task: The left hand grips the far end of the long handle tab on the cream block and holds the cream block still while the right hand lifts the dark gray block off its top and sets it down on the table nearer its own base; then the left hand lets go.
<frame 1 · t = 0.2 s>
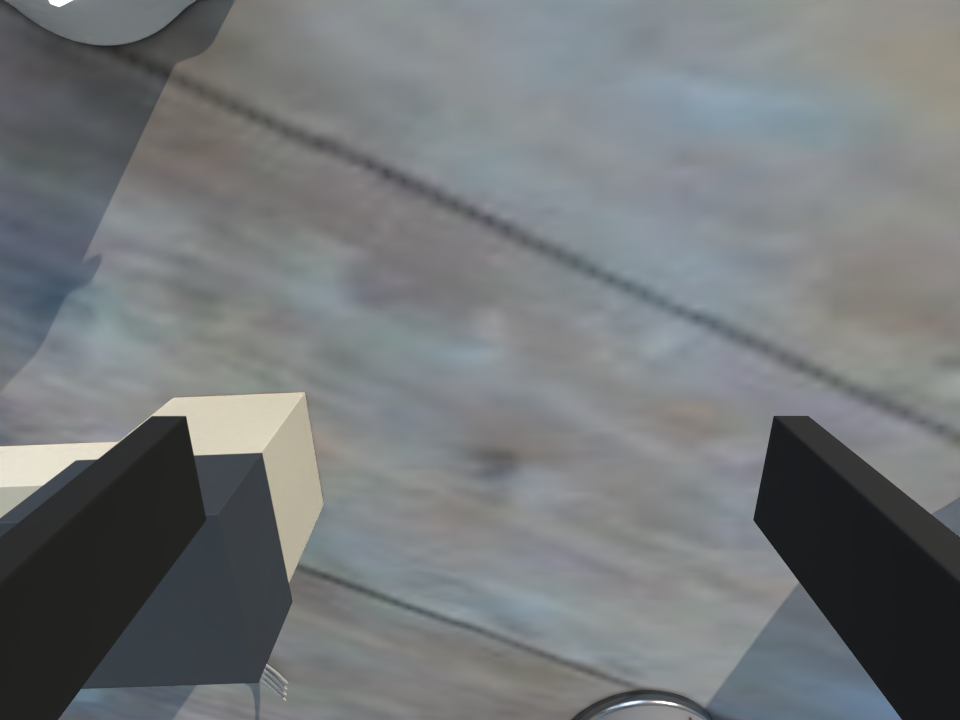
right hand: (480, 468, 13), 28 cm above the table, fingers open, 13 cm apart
dark gray block: (189, 534, 35), point 10 cm above the table, touching cream block
cream block: (251, 453, 44), on the table, touching dark gray block
fork: (206, 659, 52), on the table
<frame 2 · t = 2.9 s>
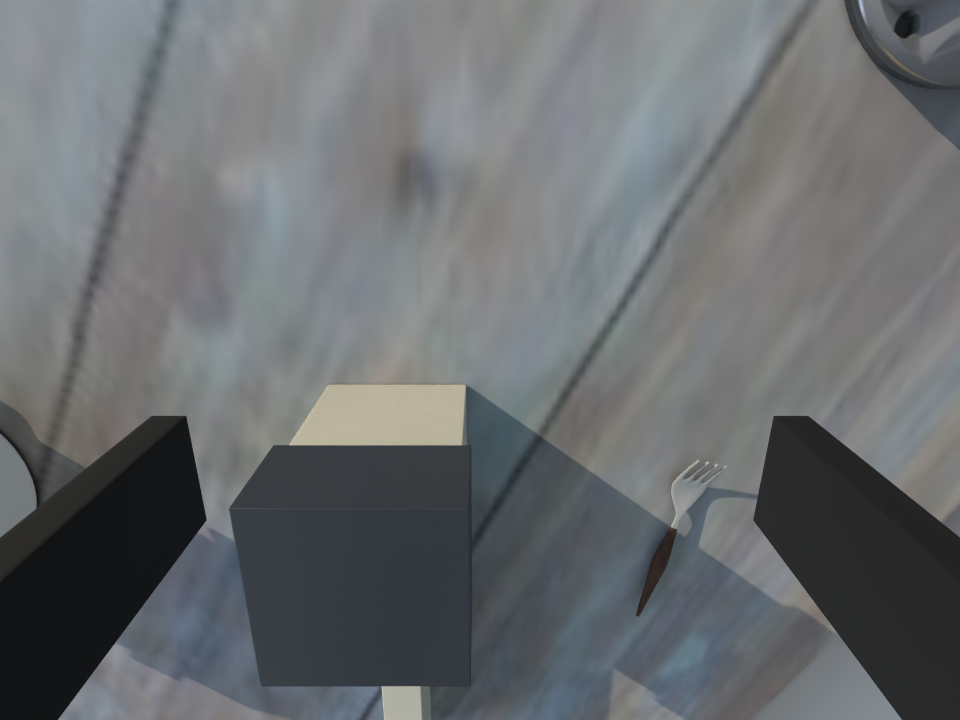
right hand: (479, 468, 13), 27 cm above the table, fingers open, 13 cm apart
dark gray block: (378, 527, 33), point 10 cm above the table, touching cream block
cream block: (400, 445, 43), on the table, touching dark gray block
fork: (666, 533, 46), on the table
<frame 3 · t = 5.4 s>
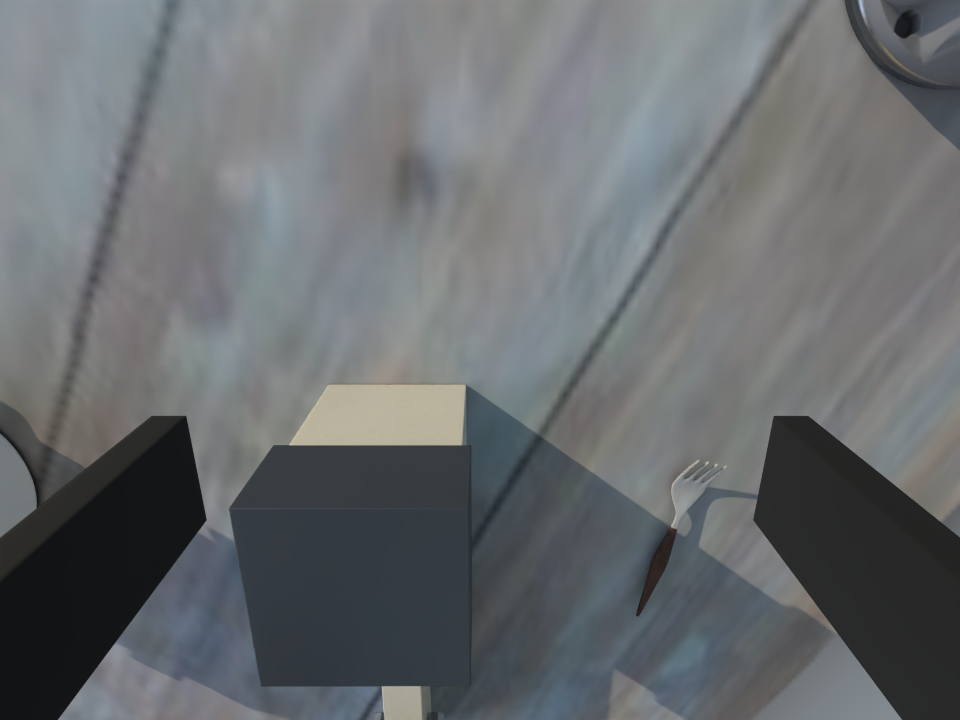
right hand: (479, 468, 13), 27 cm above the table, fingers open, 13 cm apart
dark gray block: (378, 527, 33), point 10 cm above the table, touching cream block
cream block: (400, 445, 43), on the table, touching left hand, dark gray block
fork: (666, 533, 46), on the table
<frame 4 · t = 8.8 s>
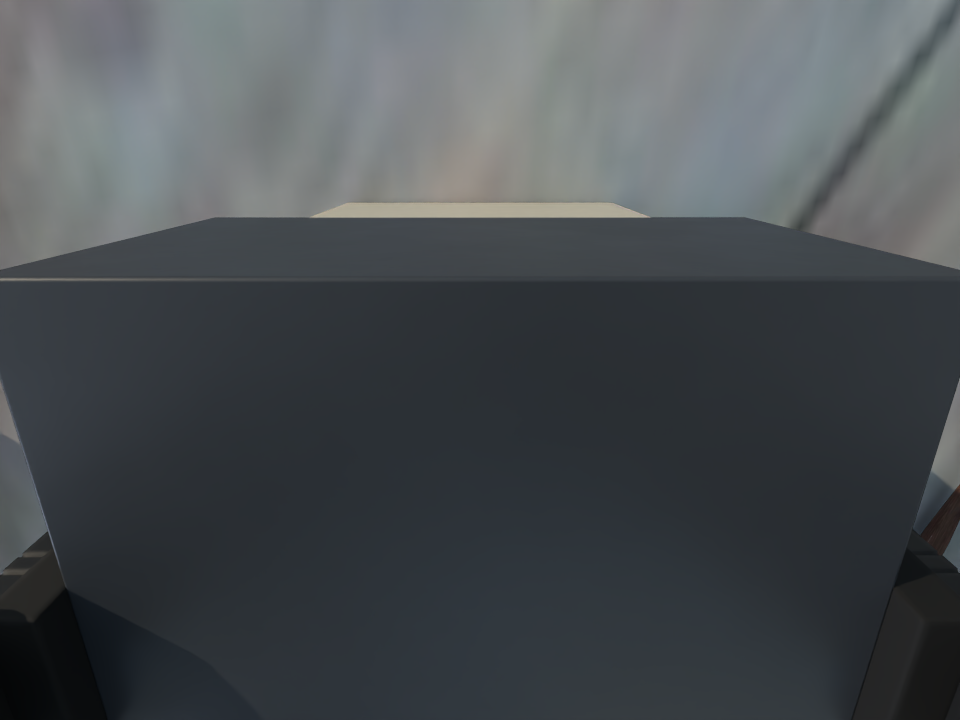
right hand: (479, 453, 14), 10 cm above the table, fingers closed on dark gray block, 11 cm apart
dark gray block: (479, 452, 14), point 10 cm above the table, touching cream block, right hand
cream block: (479, 330, 23), on the table, touching left hand, dark gray block
fork: (942, 498, 26), on the table
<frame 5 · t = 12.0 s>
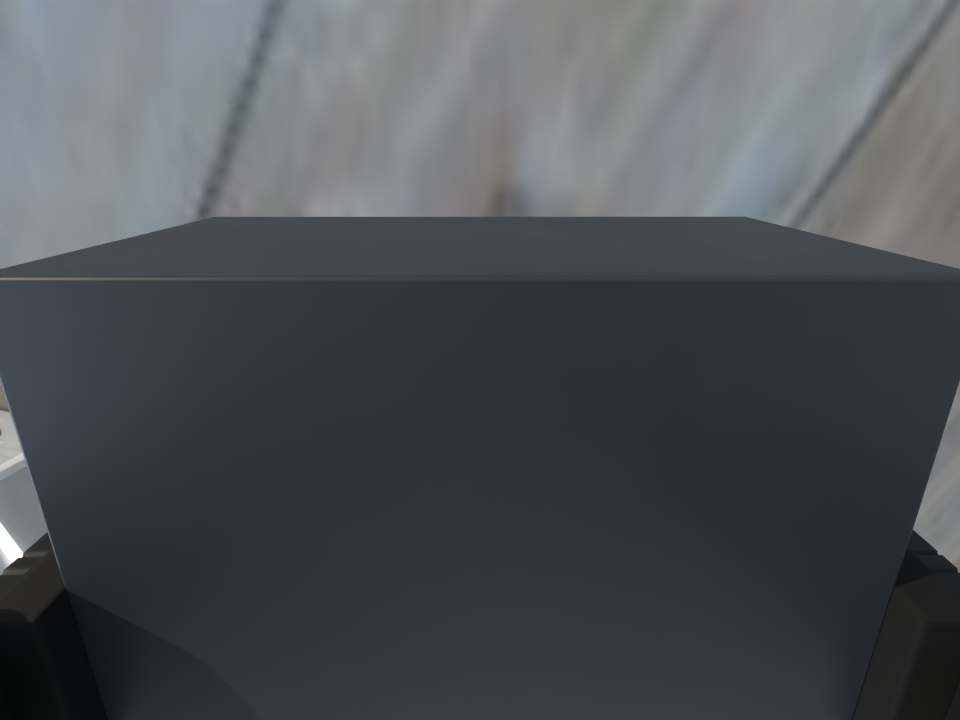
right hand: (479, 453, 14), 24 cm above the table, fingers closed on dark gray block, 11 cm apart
dark gray block: (479, 452, 14), point 24 cm above the table, touching right hand
when the right hand's fingers open (2 cm above the table, at t = 16.6 s): dark gray block drops 2 cm, on the table.
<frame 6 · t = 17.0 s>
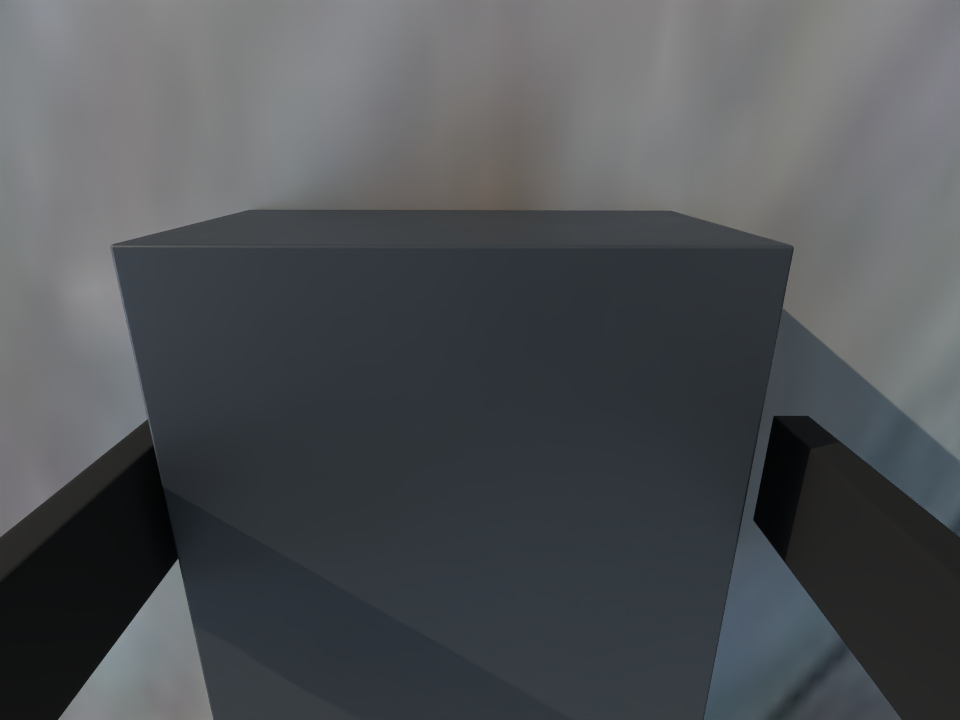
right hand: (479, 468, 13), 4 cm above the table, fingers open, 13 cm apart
dark gray block: (462, 403, 17), on the table
when the left hand's fingers open (3 cm above the table, at t = 18.9 s): cream block stays where it is, on the table.
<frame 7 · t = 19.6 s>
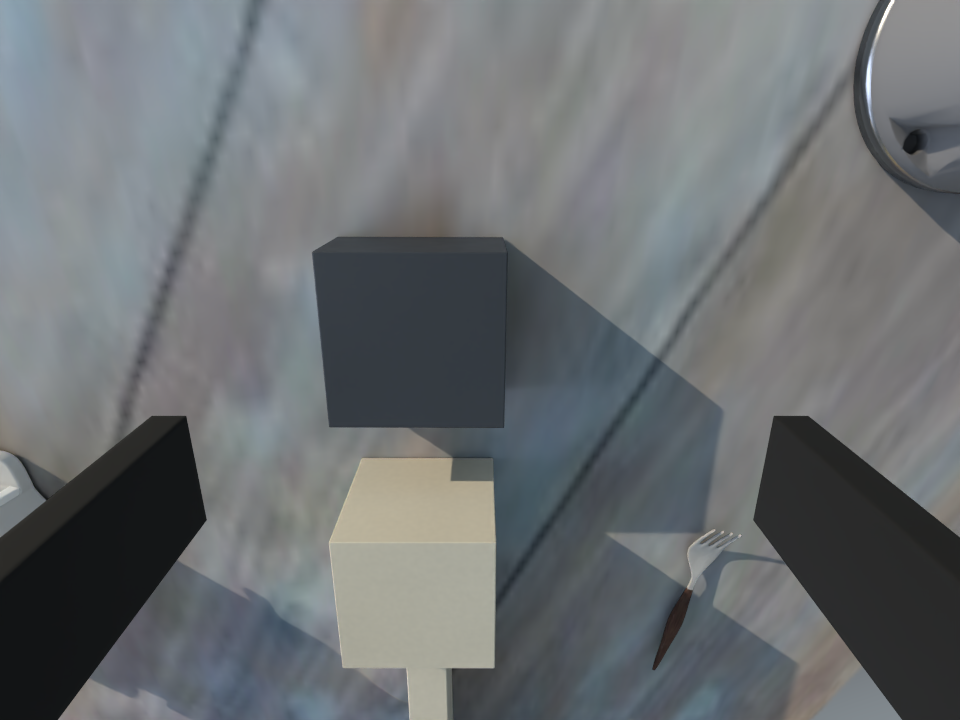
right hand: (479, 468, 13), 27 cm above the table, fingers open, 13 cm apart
dark gray block: (422, 317, 39), on the table
cream block: (429, 513, 45), on the table
fork: (682, 593, 48), on the table
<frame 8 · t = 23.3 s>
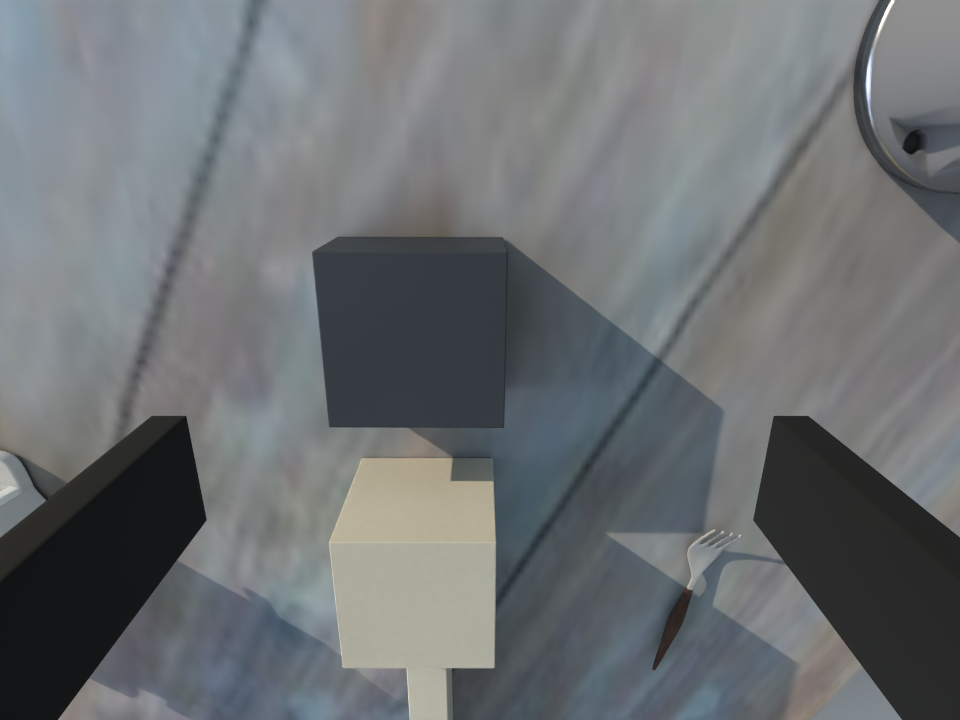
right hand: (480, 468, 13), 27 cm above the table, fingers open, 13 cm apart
dark gray block: (422, 317, 39), on the table
cream block: (429, 513, 45), on the table
fork: (682, 593, 48), on the table
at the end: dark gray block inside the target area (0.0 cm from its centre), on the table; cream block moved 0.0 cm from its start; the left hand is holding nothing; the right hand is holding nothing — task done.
